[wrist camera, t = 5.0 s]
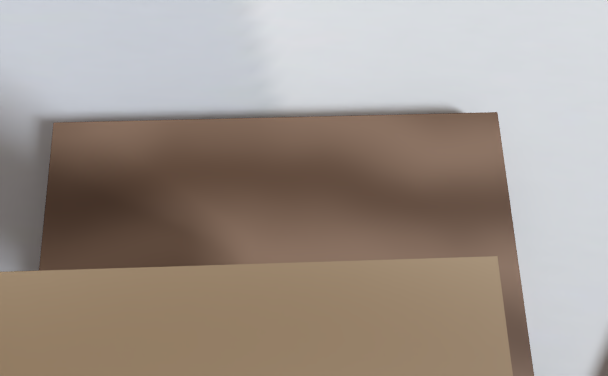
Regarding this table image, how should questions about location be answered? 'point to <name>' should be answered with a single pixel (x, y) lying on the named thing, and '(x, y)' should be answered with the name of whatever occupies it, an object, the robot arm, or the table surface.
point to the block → (258, 320)
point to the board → (284, 195)
